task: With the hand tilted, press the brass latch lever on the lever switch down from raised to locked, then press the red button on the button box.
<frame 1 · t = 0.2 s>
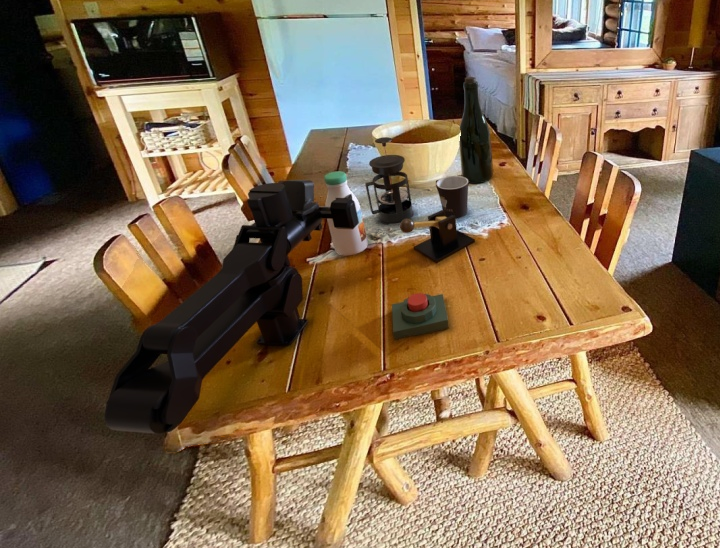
hand: (331, 195, 98), 17 cm above the table, tool horizontal, fingers open, 9 cm apart
button box: (420, 320, 86), on the table
french press: (395, 217, 123), on the table
coffee mug: (454, 212, 126), on the table
wine bottle: (477, 178, 147), on the table
milk bottle: (352, 248, 109), on the table
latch: (424, 224, 102), point 9 cm above the table, hinge at 20.0°
lever switch: (445, 246, 110), on the table
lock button: (417, 302, 84), point 4 cm above the table, slide at 0.1 cm
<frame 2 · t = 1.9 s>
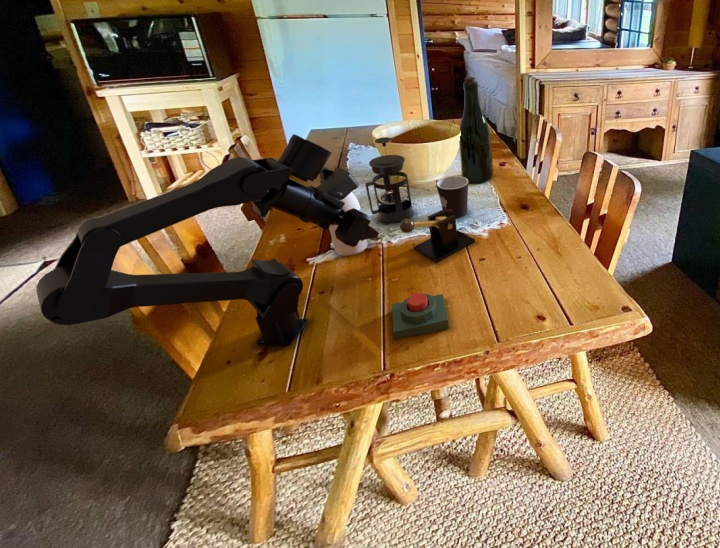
hand: (367, 229, 91), 14 cm above the table, tool tilted 45°, fingers open, 7 cm apart
nothing on the table moved.
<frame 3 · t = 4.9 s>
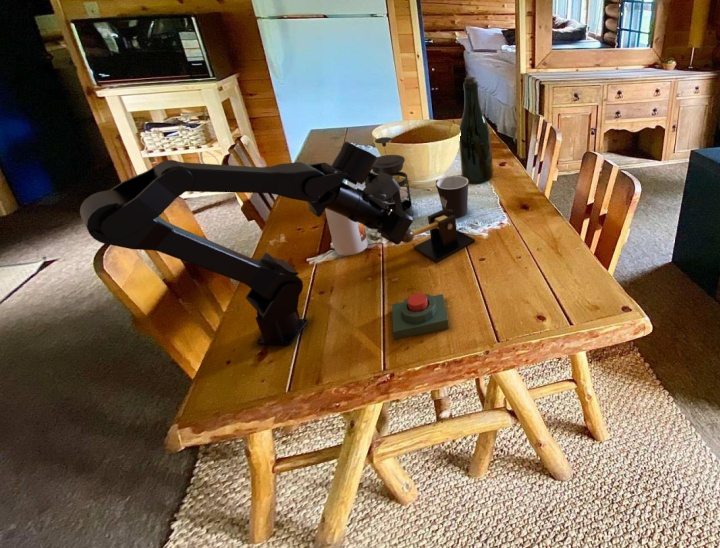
hand: (405, 228, 98), 10 cm above the table, tool tilted 45°, fingers closed
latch: (424, 229, 103), point 8 cm above the table, hinge at 6.0°, touching gripper
everything else where it was.
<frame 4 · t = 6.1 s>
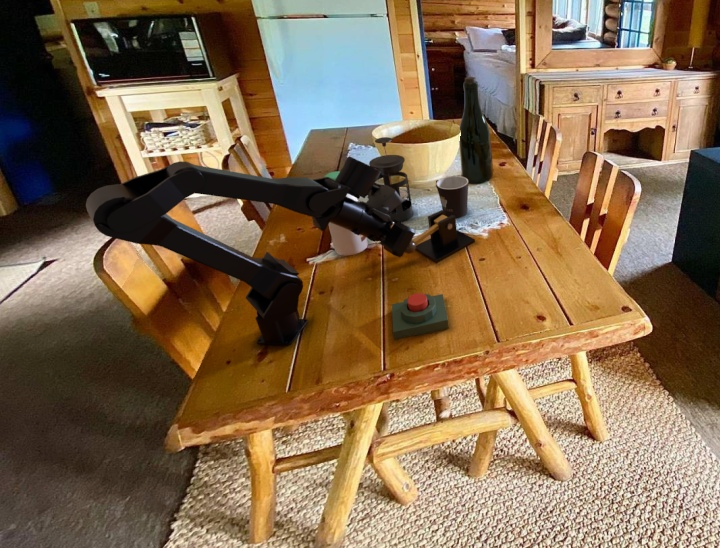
hand: (407, 239, 100), 7 cm above the table, tool tilted 45°, fingers closed
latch: (425, 234, 103), point 6 cm above the table, hinge at -11.2°
everything else where it was.
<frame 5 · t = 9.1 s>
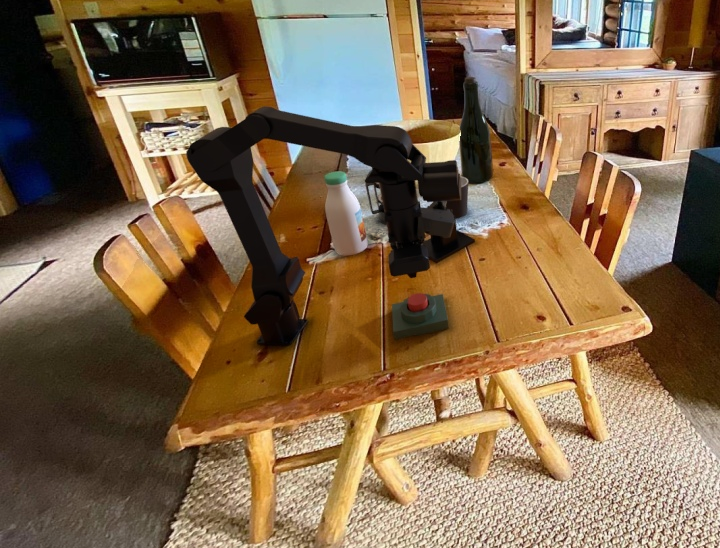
hand: (413, 276, 82), 11 cm above the table, tool pointing down, fingers closed
nothing on the table moved.
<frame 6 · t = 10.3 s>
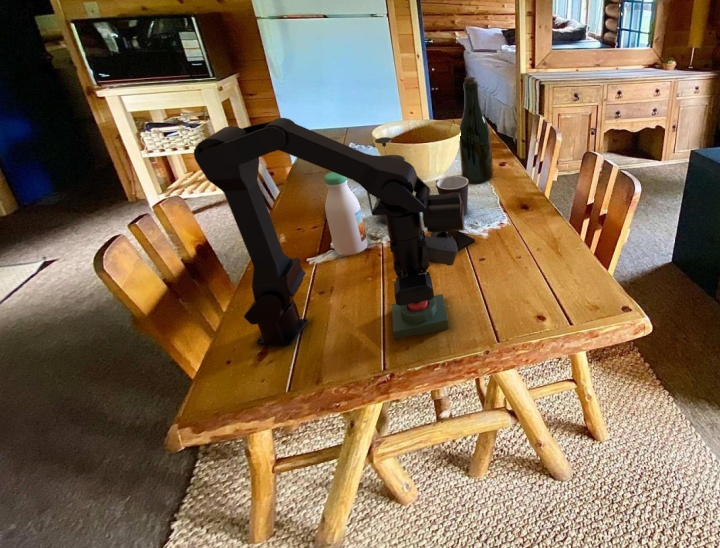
hand: (417, 301, 84), 5 cm above the table, tool pointing down, fingers closed, pressing on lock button
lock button: (418, 305, 85), point 4 cm above the table, slide at -0.6 cm, touching gripper
everything else where it was.
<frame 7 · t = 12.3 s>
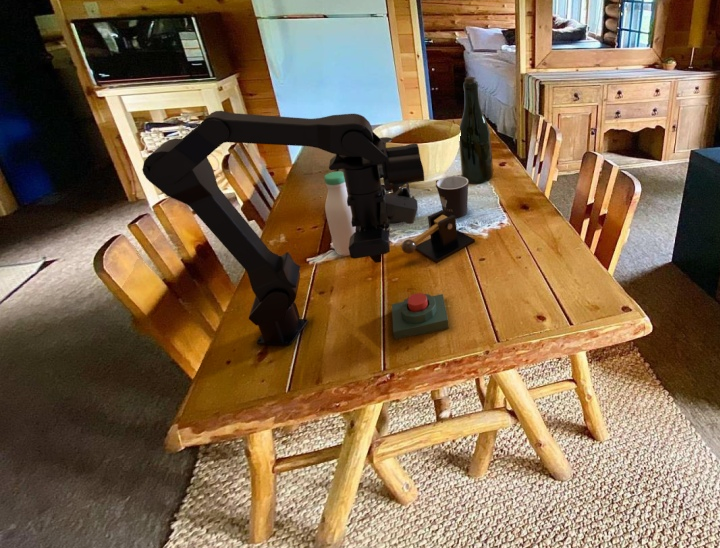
hand: (378, 261, 84), 12 cm above the table, tool pointing down, fingers closed
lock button: (417, 302, 84), point 4 cm above the table, slide at 0.1 cm
everything else where it was.
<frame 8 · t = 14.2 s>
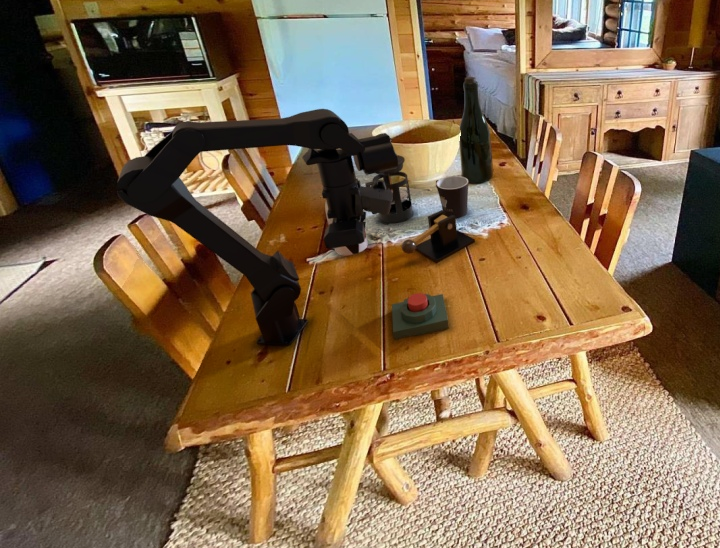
hand: (356, 252, 86), 12 cm above the table, tool pointing down, fingers closed
nothing on the table moved.
at the end: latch at -11° (first picture: +20°); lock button pushed in 1.1 cm at the most during the clip, back to where it started at the end; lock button slide at 0.1 cm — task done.
